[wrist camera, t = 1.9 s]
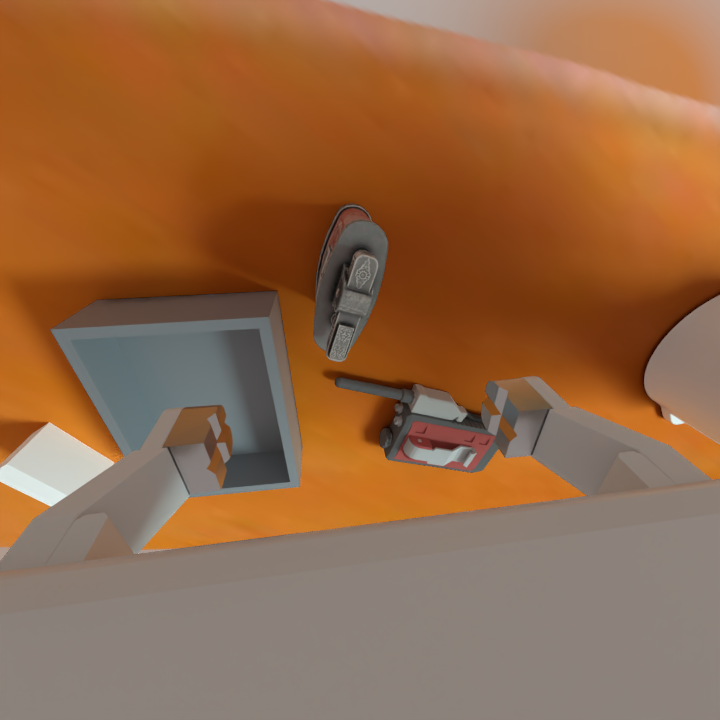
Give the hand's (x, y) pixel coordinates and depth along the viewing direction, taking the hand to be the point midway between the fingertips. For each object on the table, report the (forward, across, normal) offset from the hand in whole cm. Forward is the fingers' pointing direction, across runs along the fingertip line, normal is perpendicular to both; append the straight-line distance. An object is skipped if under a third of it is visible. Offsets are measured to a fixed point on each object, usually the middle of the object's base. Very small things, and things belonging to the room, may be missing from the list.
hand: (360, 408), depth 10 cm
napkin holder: (+19, +26, +20) cm, 38 cm away
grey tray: (+18, +11, +11) cm, 24 cm away
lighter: (+18, -1, 0) cm, 18 cm away
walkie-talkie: (+18, -8, +17) cm, 26 cm away
